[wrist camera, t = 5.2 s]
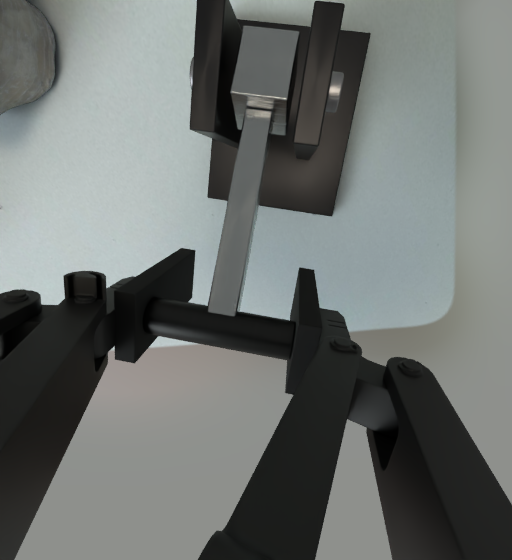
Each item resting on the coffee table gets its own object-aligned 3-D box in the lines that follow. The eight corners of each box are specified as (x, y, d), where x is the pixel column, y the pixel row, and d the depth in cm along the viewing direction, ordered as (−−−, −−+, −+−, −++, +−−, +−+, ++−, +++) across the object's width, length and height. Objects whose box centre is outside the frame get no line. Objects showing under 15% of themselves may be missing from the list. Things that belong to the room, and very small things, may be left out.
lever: (288, 356, 13) (291, 365, 11) (158, 331, 13) (133, 335, 11) (333, 82, 14) (344, 35, 12) (212, 68, 15) (200, 19, 12)
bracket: (330, 214, 26) (361, 255, 13) (211, 196, 27) (127, 218, 14) (367, 39, 22) (464, -154, 9) (225, 25, 23) (127, -173, 10)
